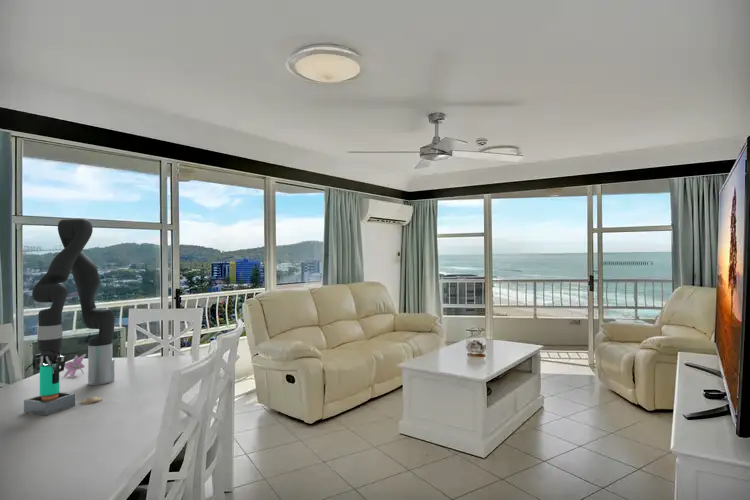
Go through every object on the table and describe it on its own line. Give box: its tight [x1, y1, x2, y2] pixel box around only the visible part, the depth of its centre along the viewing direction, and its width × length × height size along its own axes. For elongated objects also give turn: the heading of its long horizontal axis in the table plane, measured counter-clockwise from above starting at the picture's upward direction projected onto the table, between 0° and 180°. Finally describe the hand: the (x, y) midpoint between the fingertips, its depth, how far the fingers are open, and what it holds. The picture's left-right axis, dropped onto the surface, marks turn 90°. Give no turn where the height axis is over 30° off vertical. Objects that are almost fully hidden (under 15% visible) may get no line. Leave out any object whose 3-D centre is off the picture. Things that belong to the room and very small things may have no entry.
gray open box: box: [23, 391, 76, 417], centre depth 162 cm, size 11×11×4 cm
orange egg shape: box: [42, 393, 58, 402], centre depth 162 cm, size 5×5×2 cm
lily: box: [63, 353, 87, 379], centre depth 207 cm, size 12×12×10 cm
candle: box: [39, 364, 60, 396], centre depth 162 cm, size 6×6×12 cm
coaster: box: [80, 396, 103, 405], centre depth 170 cm, size 7×7×1 cm
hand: (49, 382), depth 162 cm, fingers closed on candle, 5 cm apart
